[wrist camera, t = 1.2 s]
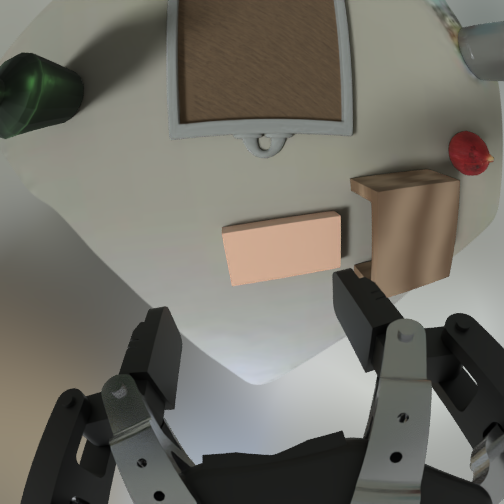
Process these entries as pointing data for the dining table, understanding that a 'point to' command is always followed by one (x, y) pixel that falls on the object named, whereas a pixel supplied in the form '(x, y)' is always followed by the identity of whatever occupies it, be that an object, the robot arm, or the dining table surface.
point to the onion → (469, 153)
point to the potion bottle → (36, 94)
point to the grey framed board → (258, 70)
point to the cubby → (409, 228)
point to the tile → (282, 247)
